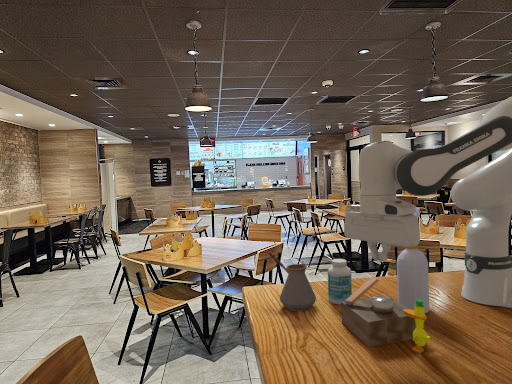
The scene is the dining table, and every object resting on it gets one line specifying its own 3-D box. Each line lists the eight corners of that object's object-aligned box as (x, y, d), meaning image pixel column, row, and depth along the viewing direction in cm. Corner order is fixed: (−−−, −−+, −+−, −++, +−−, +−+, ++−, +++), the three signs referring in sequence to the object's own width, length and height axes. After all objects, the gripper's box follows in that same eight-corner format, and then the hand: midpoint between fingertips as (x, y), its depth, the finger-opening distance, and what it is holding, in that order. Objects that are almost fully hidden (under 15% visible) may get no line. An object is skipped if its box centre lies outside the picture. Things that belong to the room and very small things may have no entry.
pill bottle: (328, 305, 109) (326, 263, 108) (329, 297, 116) (327, 257, 115) (352, 306, 107) (351, 263, 106) (351, 297, 114) (350, 257, 114)
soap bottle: (389, 308, 104) (387, 230, 103) (410, 301, 108) (408, 226, 107) (414, 317, 97) (412, 234, 95) (436, 310, 101) (433, 230, 100)
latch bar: (374, 278, 95) (371, 275, 95) (379, 281, 93) (377, 278, 92) (345, 303, 94) (343, 300, 93) (350, 307, 91) (348, 304, 91)
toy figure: (399, 346, 81) (398, 296, 81) (409, 341, 83) (407, 293, 83) (426, 358, 76) (425, 305, 75) (436, 353, 77) (434, 301, 77)
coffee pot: (324, 307, 107) (322, 260, 106) (295, 317, 101) (293, 266, 100) (283, 290, 125) (281, 249, 124) (256, 297, 119) (254, 254, 118)
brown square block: (386, 316, 98) (386, 295, 98) (420, 338, 85) (419, 314, 84) (341, 323, 95) (341, 301, 95) (368, 346, 82) (368, 322, 81)
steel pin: (393, 326, 90) (392, 296, 89) (395, 335, 85) (394, 303, 84) (372, 324, 91) (371, 294, 91) (373, 333, 86) (371, 302, 86)
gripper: (337, 205, 94) (339, 255, 94) (407, 208, 77) (409, 269, 78) (353, 203, 97) (354, 251, 98) (422, 206, 81) (424, 264, 81)
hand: (379, 259), depth 88 cm, fingers closed
